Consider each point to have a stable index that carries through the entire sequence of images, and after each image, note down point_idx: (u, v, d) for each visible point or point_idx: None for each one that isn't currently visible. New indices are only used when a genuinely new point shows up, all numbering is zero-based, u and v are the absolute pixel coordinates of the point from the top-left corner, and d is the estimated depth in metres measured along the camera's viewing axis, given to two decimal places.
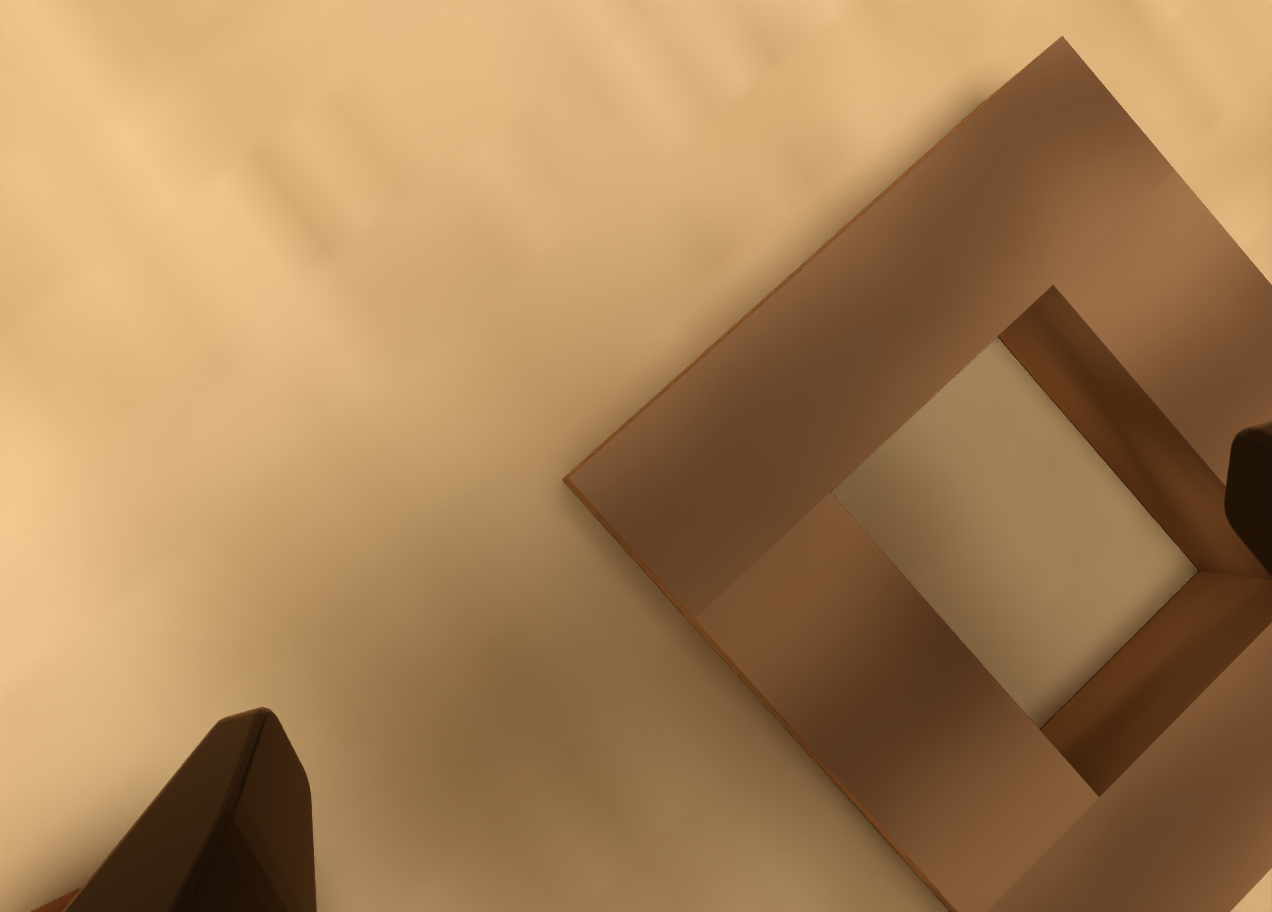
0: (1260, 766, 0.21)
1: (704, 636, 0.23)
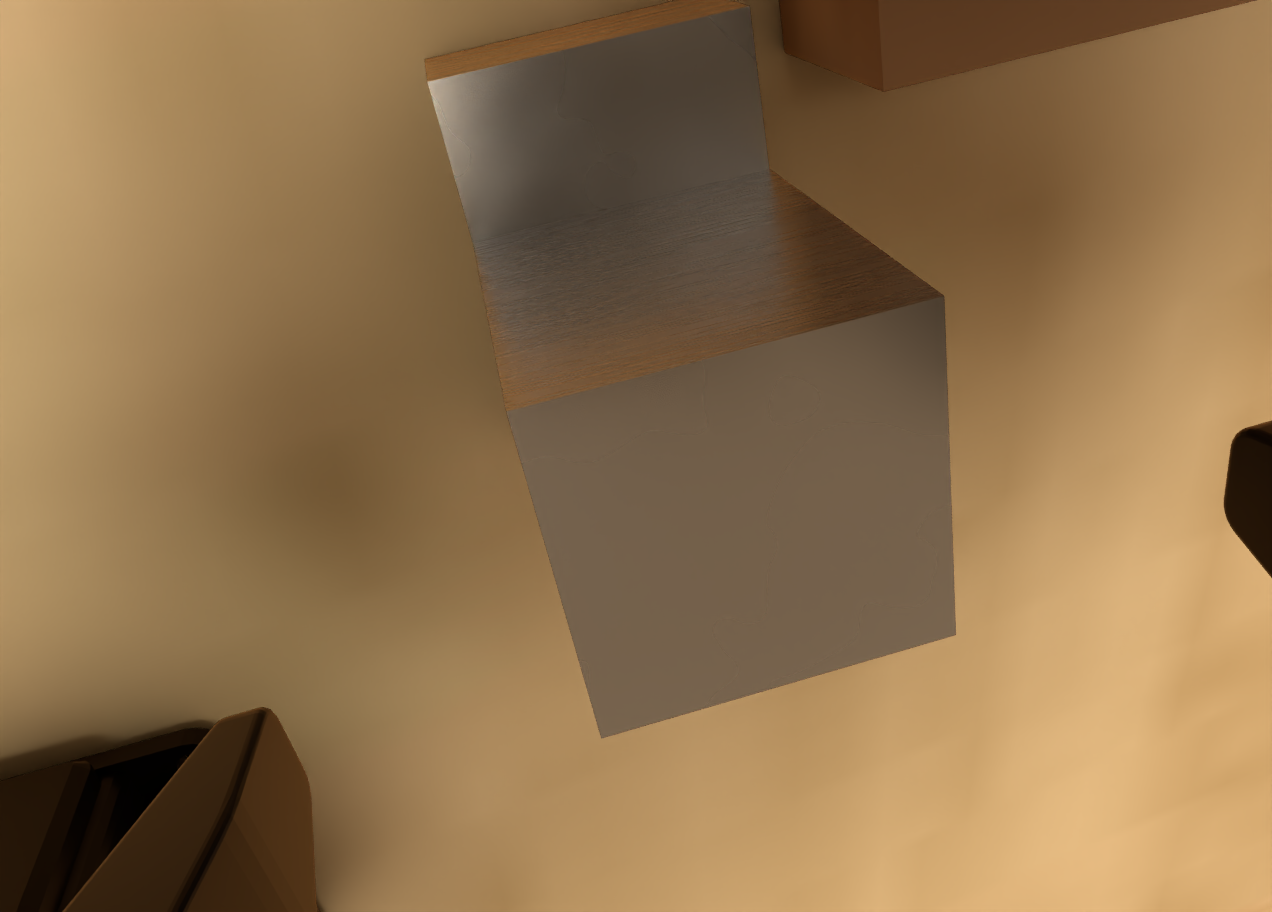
0: None
1: None
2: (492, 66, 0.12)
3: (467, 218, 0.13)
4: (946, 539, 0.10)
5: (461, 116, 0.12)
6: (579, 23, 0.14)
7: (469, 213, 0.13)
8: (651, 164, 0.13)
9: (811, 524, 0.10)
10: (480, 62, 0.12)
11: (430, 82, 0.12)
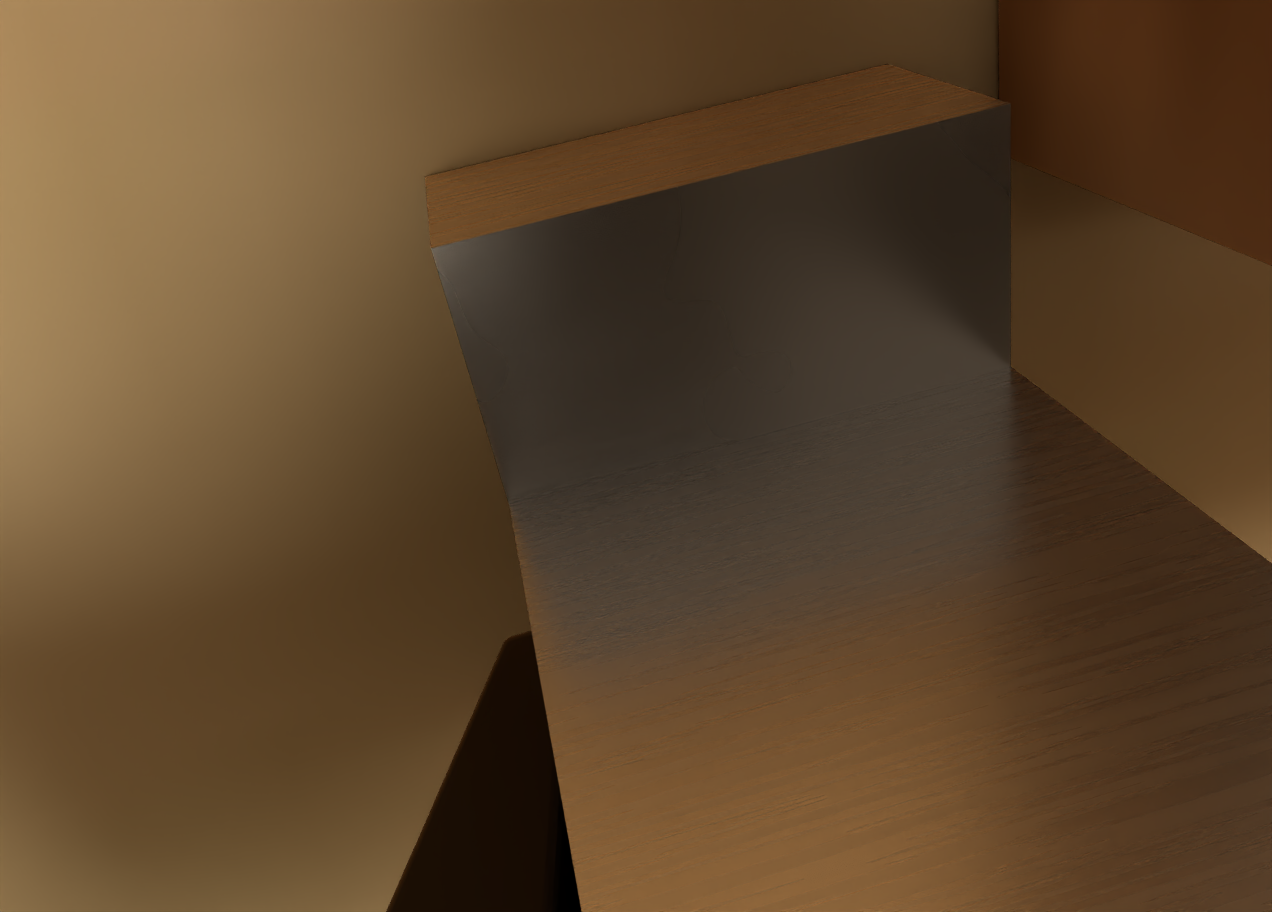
0: None
1: None
2: (550, 217, 0.07)
3: (500, 465, 0.07)
4: None
5: (492, 303, 0.07)
6: (680, 114, 0.08)
7: (504, 459, 0.07)
8: (818, 368, 0.07)
9: None
10: (525, 201, 0.07)
11: (437, 249, 0.06)
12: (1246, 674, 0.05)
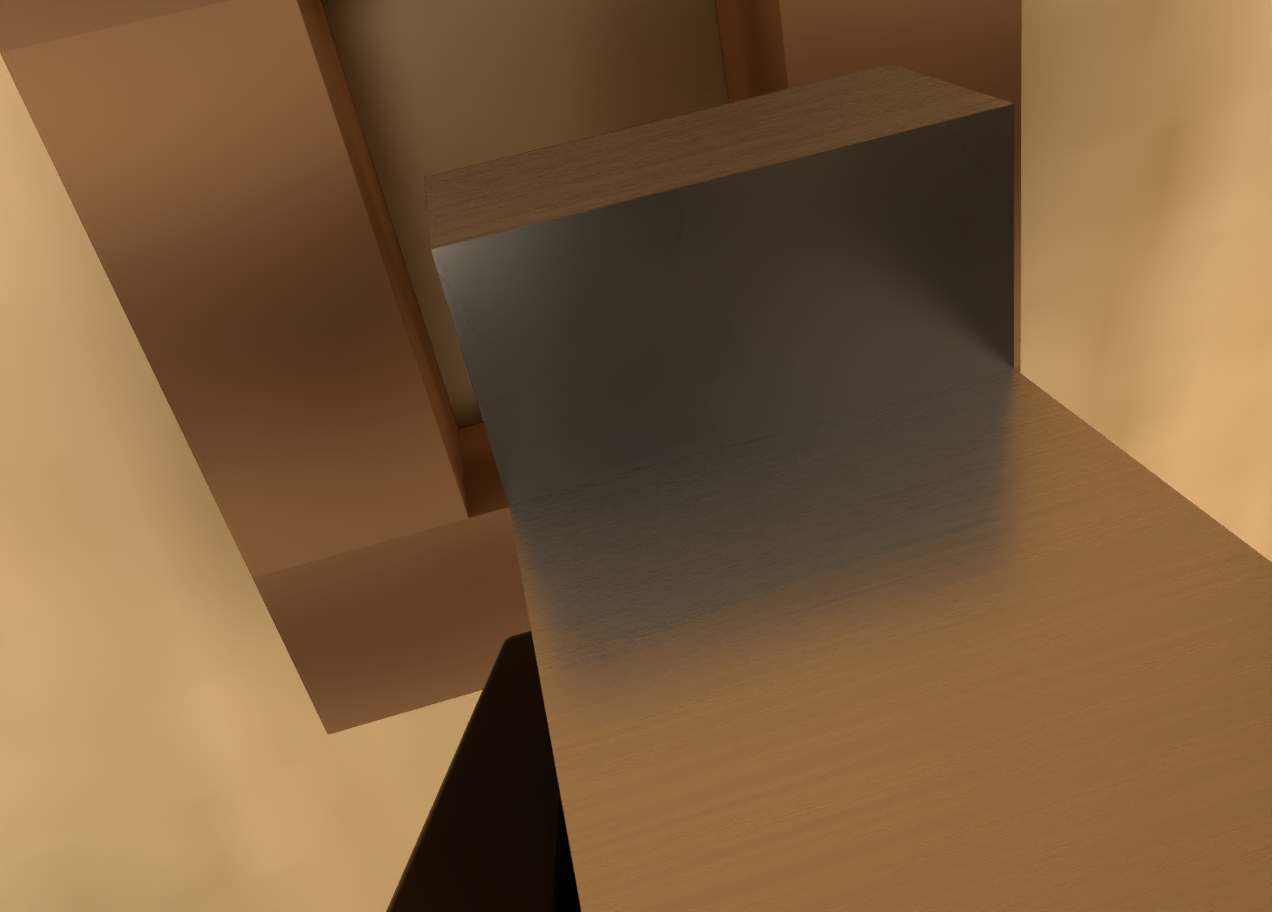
0: None
1: None
2: (550, 218, 0.07)
3: (500, 468, 0.07)
4: None
5: (492, 305, 0.07)
6: (681, 115, 0.08)
7: (504, 462, 0.07)
8: (820, 370, 0.07)
9: None
10: (525, 202, 0.07)
11: (436, 250, 0.06)
12: (1253, 680, 0.05)
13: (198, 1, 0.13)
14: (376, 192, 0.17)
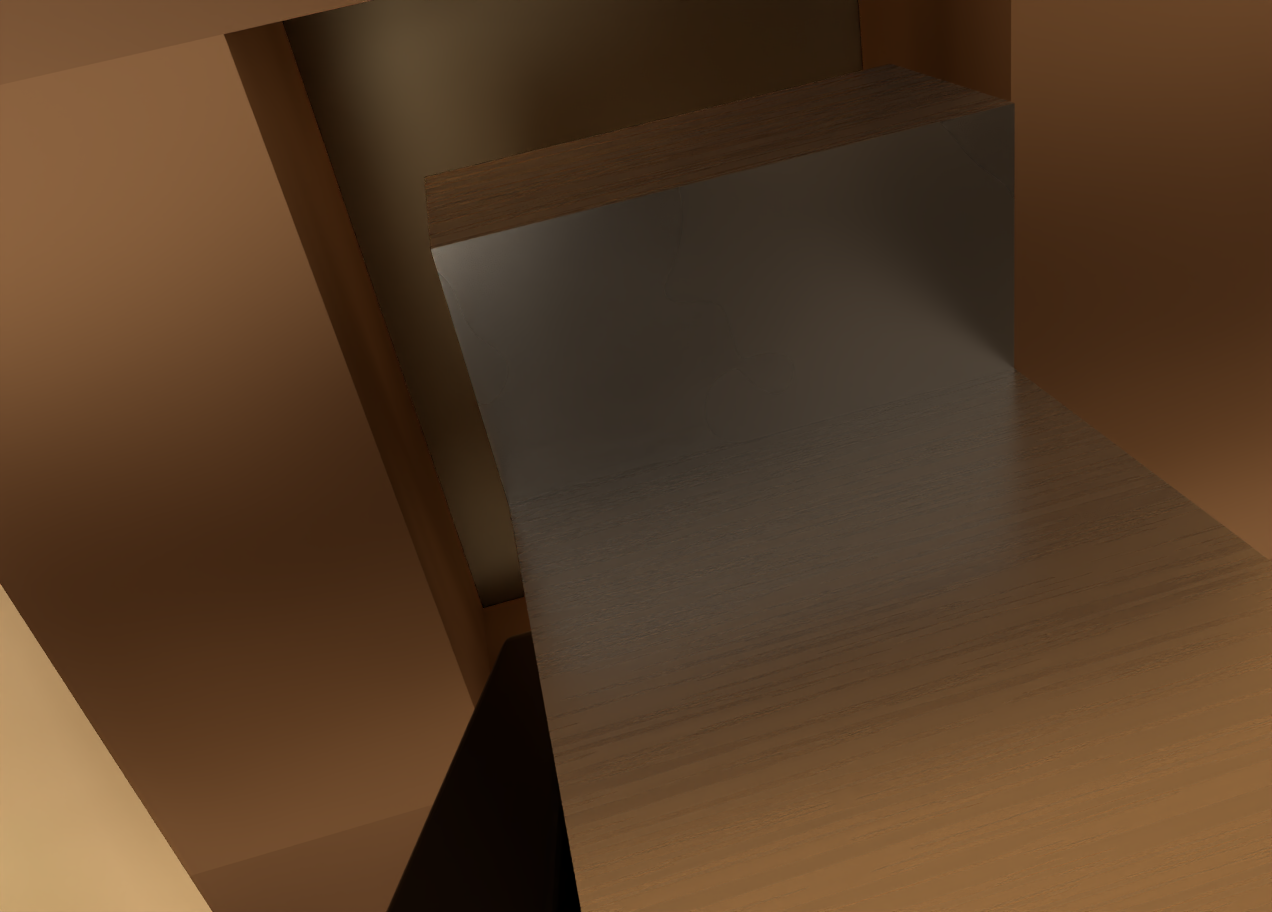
0: None
1: None
2: (550, 217, 0.07)
3: (500, 468, 0.07)
4: None
5: (492, 305, 0.07)
6: (681, 114, 0.08)
7: (504, 462, 0.07)
8: (820, 370, 0.07)
9: None
10: (525, 202, 0.07)
11: (436, 250, 0.06)
12: (1254, 680, 0.05)
13: (63, 59, 0.08)
14: (370, 318, 0.12)
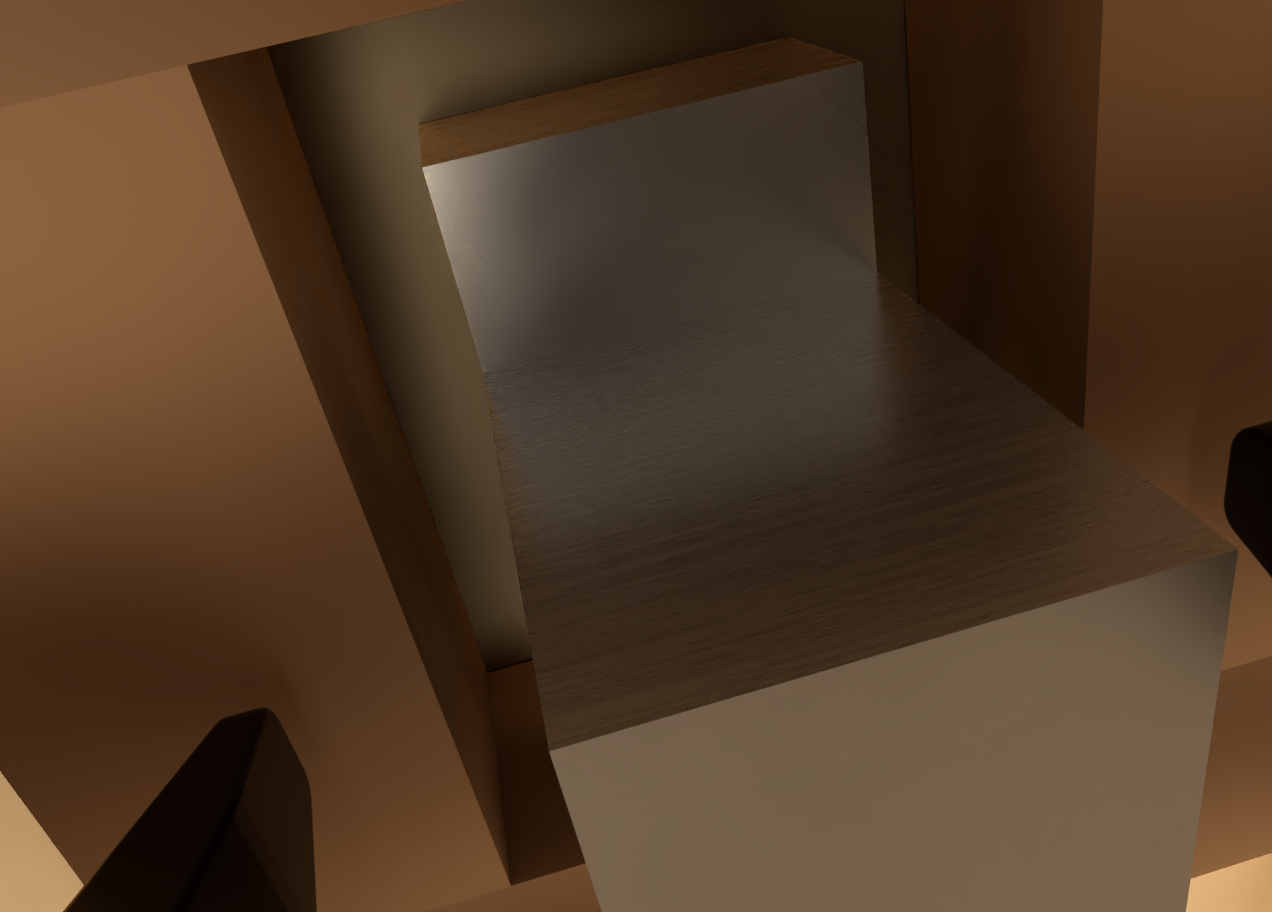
0: None
1: None
2: (512, 145, 0.09)
3: (476, 343, 0.10)
4: (1184, 857, 0.07)
5: (469, 212, 0.09)
6: (622, 76, 0.11)
7: (479, 337, 0.09)
8: (723, 269, 0.10)
9: (999, 856, 0.07)
10: (494, 136, 0.09)
11: (426, 168, 0.09)
12: (984, 445, 0.07)
13: None
14: (364, 370, 0.10)
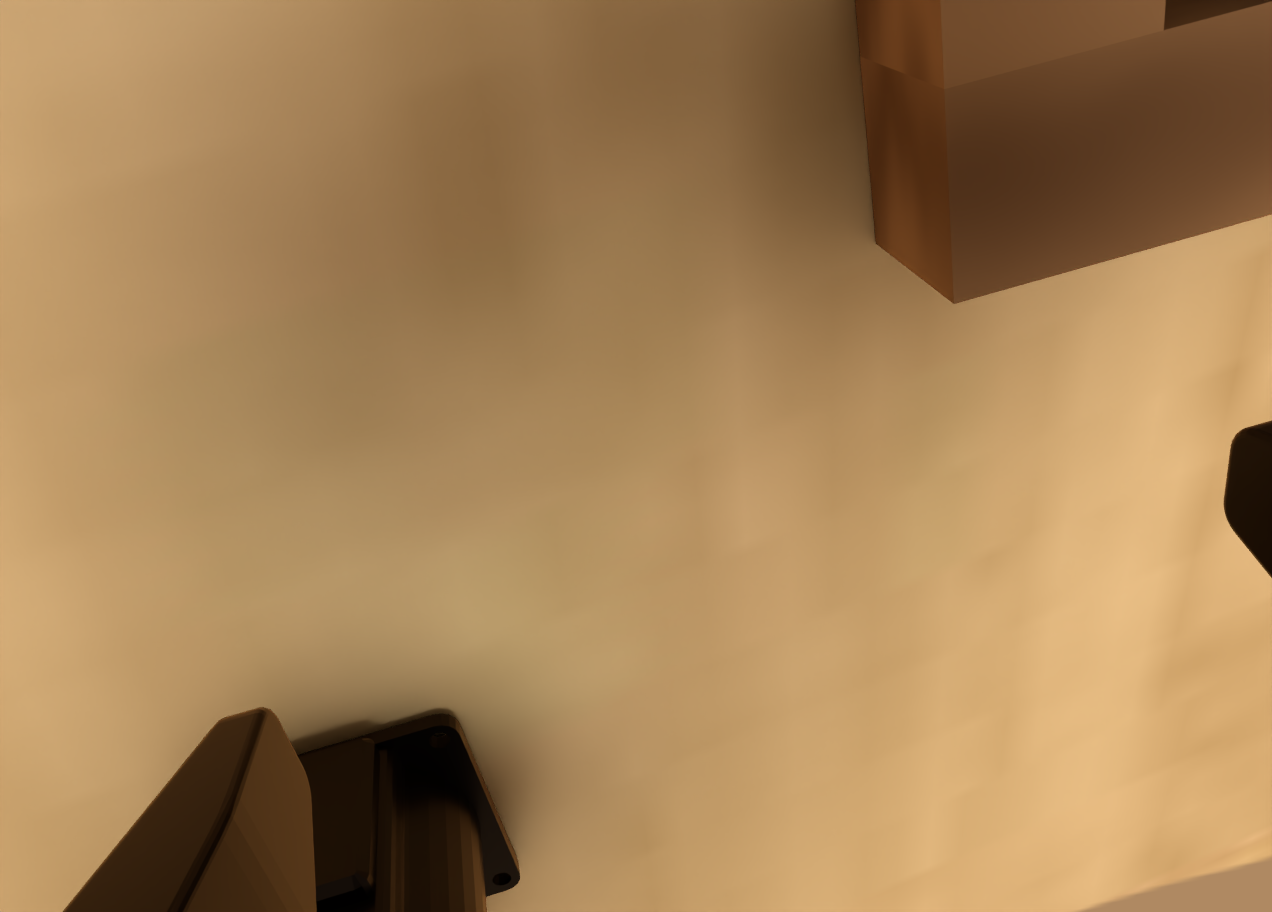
0: None
1: None
2: None
3: None
4: None
5: None
6: None
7: None
8: None
9: None
10: None
11: None
12: None
13: None
14: None
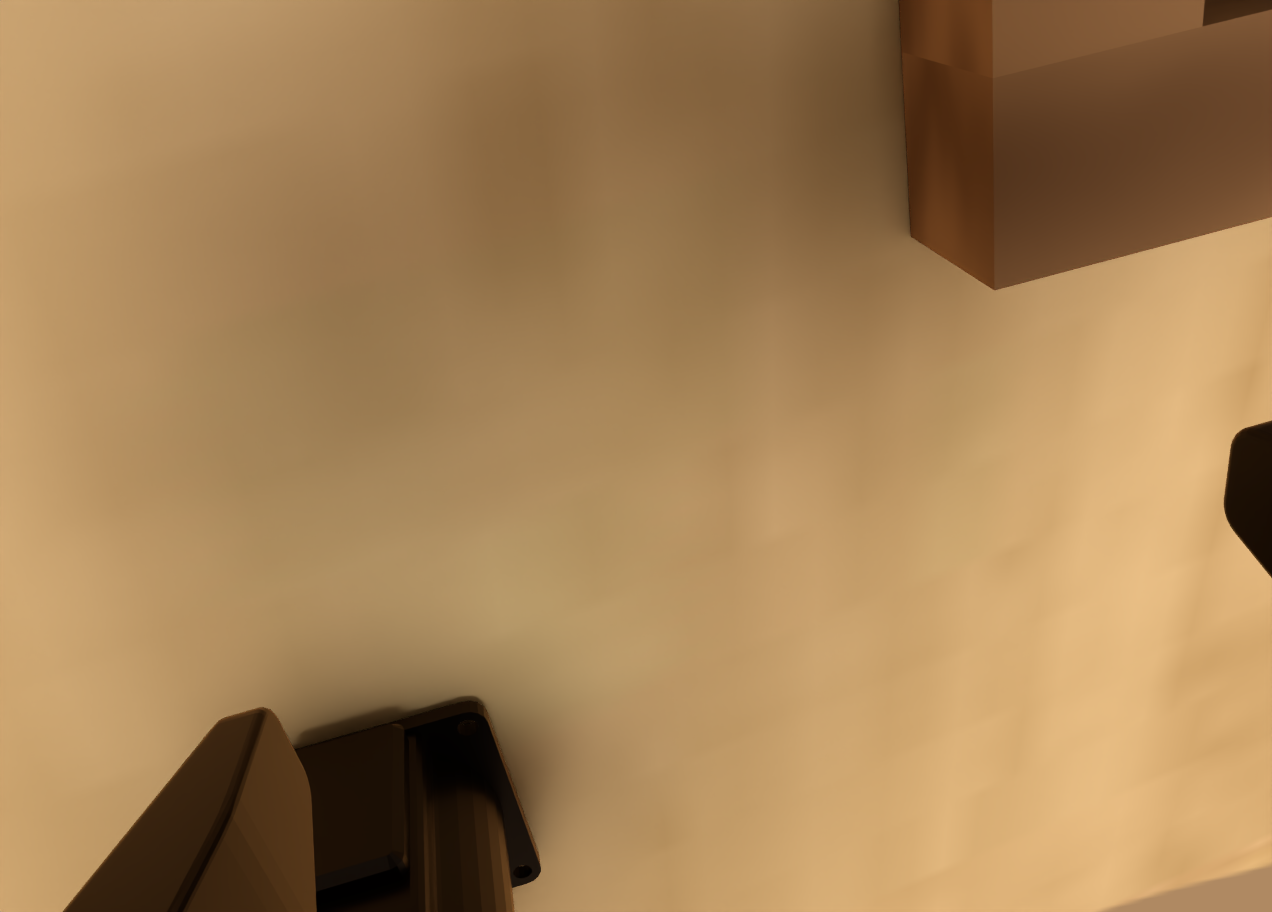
0: None
1: None
2: None
3: None
4: None
5: None
6: None
7: None
8: None
9: None
10: None
11: None
12: None
13: None
14: None
